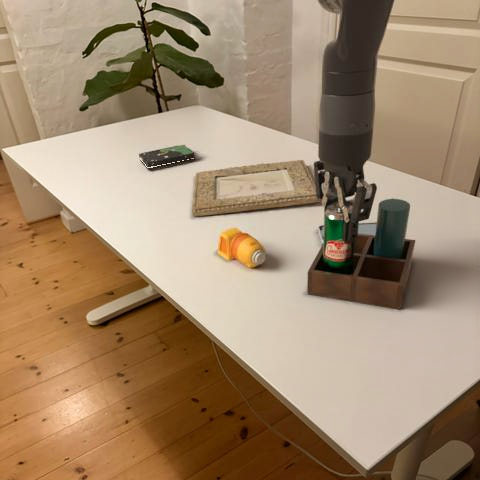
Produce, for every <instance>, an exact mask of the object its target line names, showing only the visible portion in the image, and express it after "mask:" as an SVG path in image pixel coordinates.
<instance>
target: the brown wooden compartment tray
mask: <svg viewBox="0 0 480 480" xmlns="http://www.w3.org/2000/svg"><path fill="white" fill-rule="evenodd" d="M374 242H375V235H367V234H359V233H358V237H357V239H356V240H355V246H354V259H353V270H352V273H351V274H350V275H344V274H338V273H331V272H324V271H323V244H322V245H321V247H320V248H319V251H318V252H317V254H316V255H315V257H314V259H313V261H312V263H311V265H310V266H309V268H308V270H307V289H306V291H307V292H306V293H307V295H310V296H316V297H323V298H328V299H334V300H335V299H336V300H340V301H346V302H347V301H348V302H353V303H359V304H364V305H370V306H375V307H381V308H387V309H394V310H401V307H402V304H403V299H404V295H405V291H406V287H407V283H408V279H409V276H410V271H411V266H412V262H413V257H414V251H415V246H416V239H410V238H409V239H408V238H405V243H404V250H403V256H402V259H397V258H389V257H381V256H374V255H373V250H374Z"/></svg>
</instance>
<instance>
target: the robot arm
mask: <svg viewBox="0 0 480 480" xmlns="http://www.w3.org/2000/svg"><path fill="white" fill-rule="evenodd" d="M317 3H318V4H319V6H320V7H321V8H322V9H324V10H325V11H327V12H329V13H330V14H334V15H340V20H339V27H338V31H337V36H336V38H335V39H333V40H331V41H330V42H328V43H327V44H326V46H325V47H324V49H323V53H322V66H321V69H322V70H321V96H320V102H319V110H318V150H317V152H318V153H317V157H318V159H319V160H316V161H314V162H313V173H314V183H315V185H316V196H317V198H318V199H321V205H322V207H323V208H324V209H323V210H324V211H323V215H324V214H325V211H326V210H327V206H328V205H329V204H331V203H335V202H339V206H340V207H342V208H343V215H344V223H343V239H342V240H343V241H344V242H345V243H350V242H353V241H355V240H356V239H357V237H358V225H359V223H360V222H363V221H366V220H369V219H370V216H371V212H372V208H373V205H374V201H375V198H376V194H377V190H378V186H377V183H375V182H372V183H368V182H367V181H366V180H365V173H364V166H365V164H366V162H368V160H370V159H371V157H372V146H373V137H374V125H375V115H376V83H377V81H376V80H377V71H378V56H379V52H380V49H381V46H382V43H383V42H384V41H383V40H384V38H385V35H386V31H387V29H388V25H389V20H390V17H391V14H392V10H393V7H394V4H395V0H317ZM322 185H323V186H322ZM350 197H353V198H350ZM347 198H349V199H347ZM351 205H353V210H352V213H350V206H351Z"/></svg>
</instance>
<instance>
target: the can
mask: <svg viewBox="0 0 480 480" xmlns="http://www.w3.org/2000/svg"><path fill="white" fill-rule="evenodd" d="M410 210H411V204H410V203H409V202H408V201H406V200H404V199H400V198H388V199H383V200H381V201H380V202H378V207H377V216H376V222H377V224H376V233H375V242H374V250H373V255H374V256H381V257H389V258H397V259H402V256H403V250H404V243H405V239H406V236H407V229H408V225H409V217H410Z"/></svg>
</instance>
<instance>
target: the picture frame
mask: <svg viewBox="0 0 480 480" xmlns="http://www.w3.org/2000/svg"><path fill="white" fill-rule="evenodd" d="M194 180H195V181H194V189H193V201H192V211H191V213H192V217H193V218H194V217H195V218H196V217H203V216H205V217H206V216H215V215H222V214H229V213H230V214H231V213H238V212H248V211H254V210H263V209H272V208H280V207H281V208H282V207H288V206H289V207H290V206H297V205H305V204H315V203H318V202H321V201H322V199H318V198H317V196H316V185H315V180H314V179H313V177H312V174H311V173H310V171H309V169H308V167H307V165H306V163H305V161H304V159H297V160H289V161H280V162H271V163H269V162H268V163H257V164H250V165H243V166H234V167H231V166H230V167H227V168H226V167H225V168H220V169H212V170H205V171H199V172H195V179H194Z"/></svg>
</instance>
